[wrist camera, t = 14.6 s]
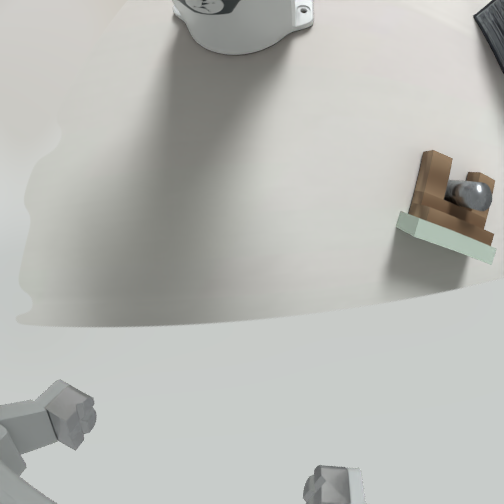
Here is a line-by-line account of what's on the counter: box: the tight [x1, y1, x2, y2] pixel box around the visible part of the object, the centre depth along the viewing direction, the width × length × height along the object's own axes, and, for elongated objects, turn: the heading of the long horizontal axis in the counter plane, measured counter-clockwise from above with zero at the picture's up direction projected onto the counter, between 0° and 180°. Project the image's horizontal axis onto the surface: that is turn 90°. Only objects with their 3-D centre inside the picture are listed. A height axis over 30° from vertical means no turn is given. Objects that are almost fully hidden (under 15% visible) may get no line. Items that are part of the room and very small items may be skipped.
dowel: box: [444, 180, 492, 211], centre depth 27 cm, size 3×3×8 cm
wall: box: [396, 212, 496, 265], centre depth 30 cm, size 2×12×6 cm, turn 77°
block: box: [409, 150, 495, 246], centre depth 28 cm, size 8×10×6 cm
